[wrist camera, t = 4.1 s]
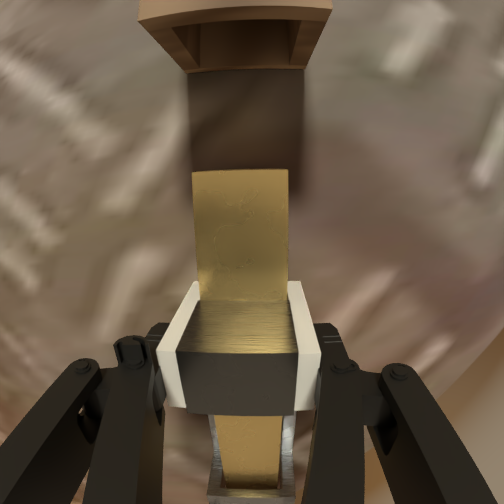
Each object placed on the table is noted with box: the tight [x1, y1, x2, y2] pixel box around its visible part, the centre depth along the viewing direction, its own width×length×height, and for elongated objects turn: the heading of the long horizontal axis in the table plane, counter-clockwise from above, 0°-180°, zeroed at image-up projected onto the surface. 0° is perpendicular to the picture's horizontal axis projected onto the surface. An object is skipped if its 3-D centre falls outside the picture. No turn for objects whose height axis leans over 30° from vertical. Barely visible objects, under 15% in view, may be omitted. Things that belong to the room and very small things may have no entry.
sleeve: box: [207, 411, 297, 504], centre depth 19 cm, size 6×14×7 cm, turn 1°
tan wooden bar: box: [175, 169, 299, 490], centre depth 15 cm, size 4×22×9 cm, turn 1°
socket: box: [137, 0, 333, 74], centre depth 11 cm, size 7×5×8 cm
